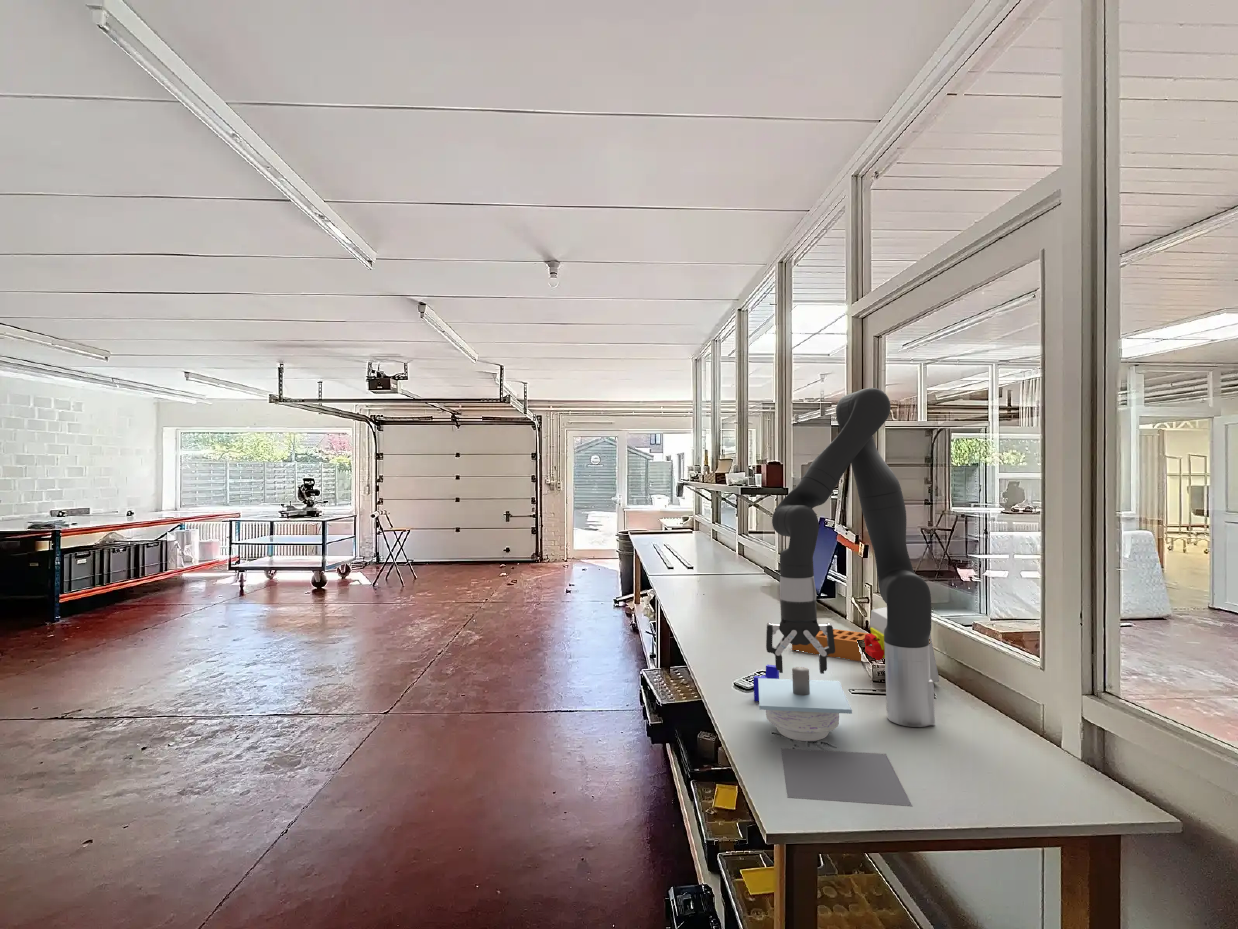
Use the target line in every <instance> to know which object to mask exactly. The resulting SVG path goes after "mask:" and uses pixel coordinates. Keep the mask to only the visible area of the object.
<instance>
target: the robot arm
mask: <svg viewBox="0 0 1238 929" xmlns="http://www.w3.org/2000/svg"><path fill="white" fill-rule="evenodd" d="M891 406H892V405H891V400H890V398H889V396H888V395H887V393H886V392H885V391H884V390H882V389H879V388H877V387H867V388H863V389H860V390H857V391H853V392H851V393H848V394H846V395H843V396H842V397H841V398H839V400H838V401H837V404H836V408H835V416H836V421H837V425H838V428H839V433H838V434H837V436H836V437H835V438H834V439H833V440H832V441H831V442H830V443H829V444H828V445H827V446H826V447H825V448H824V449H823V450H822V451H821V452H820V453H819V454H818V455H817V456H816V457H815V458H814V460H813V461H812V462H811V463H810V465H809V466H808V468H807V469H806V472H805V473H804V475H803V476H802V478H801V479H800V481H799V482H798V484H797V485H796V486H795V487H794V488H793V489H792V490H791V491H790V492H789V493H788V494H787V495H786V496H785V497H784V498H783V499H782V500H781V501H780V502H779V503H778V505H777V506H776V508H775V509H774V512H773V515H772V519H771V524H772V528H773V530H774V531H775V532H776V533H777V535H780V536H783V537H789V541H788V542H789V543H788V546H787V548H785V549H782V550H781V551H780V554H779V572H780V573H779V574H780V577H779V578H780V579H779V599H780V600H779V601H780V602H779V605H780V623H779V624H778V623H777V624H776V623H772V622H767V623H766V634H765V636H766V637H765V639H766V640H765V648H766V652H767V653H769V654H770V653H771V654H773V655H774V661H775V662H774V663H775V665H776V669H777V670H779V674H783V673H784V672H783V670H784V668H783V655H782V654H783V652H784V651H785V649H786V648H787V647H789V645H790V644H791V645H792V644H793V645H799V644H802V645H808V644H810V643H812V645H813V646H814V647H815V648H816V649H817V651H818V652H819V653H820V654H819V655H818V665H819V673H820V674H821V675H824V674H825V672H826V671H828V663H827V662H828V660H827V657H828V656H827V655H828V654H831V653H832V654H833V653H835V643H834V634H833V629H834V627H833V625H832V624H831V623H830V622H827V623H825V624H819V623H818V614H817V610H818V609H817V591H816V589H817V588H816V582H815V574H814V572H815V571H814V570H815V569H814V568H815V567H814V554H815V551H816V546H817V542H818V541H817V540H818V536H819V530H820V529H819V528H820V527H819V526H820V523H819V519H818V515H817V513H816V512H815V511H814V508H816V507H818V506H822V505H824V504H825V503H826V502H827V501H828V499H830V497H831V495H832V493H833V491H834V490H835V488H836V487H837V485H838V483H839V482H840V480H841V478H842V477H843V475H844V474H845V472H846V471H847V469H848V468H849V466H850V465H851V469H852V473H853V477H854V480H855V486H856V490H857V495H858V499H859V503H860V508H861V511H862V512H861V513H862V515H863V516H862V517H863V519H864V523H865V527H866V530H867V533H868V537H869V539H870V543H871V545H872V549H873V552H874V560H875V567H876V573H877V585H878V591H879V594H880V596H881V599H882V600H883V602H884V603H885V604H886V607H887V626H886V628H885V630H884V647H885V672H884V674H885V696H886V697H885V699H886V701H885V702H886V717H887V719H888V720H889V721H890V722H892V723H894V724H896V725H899V726H903V727H909V728H910V727H911V728H924V727H928V726H936V716H935V715H936V714H935V713H936V712H935V710H936V709H935V691H934V689H935V687H934V682H933V681H932V680H931V679H930V657H929V636H930V634H931V632H932V596H931V595H932V594H931V590H930V586H929V584H928V583H927V582H926V581H925V580H924V579H923V577H920V576H919V575H917V574H916V573H915V571H914V567H913V565H912V561H911V558H910V555H909V552H908V545H907V510H906V504H905V498H904V495H903V492H902V486H901V483H900V482H899V479H898V477H897V476H896V474H895V473H894V472H893V470H892V469H891V468H890V466H889V465H888V464H887V463H886V461H885V460H884V458H883V457H882V456H881V454H880V453H879V450H878V449H877V445H876V442H875V439H874V435H875V434H876V433H877V432H878V431H879V429H880V428H881V427H882V426H883V425H884V424H885V422H886V421H887V420H888V418H889V417H890V413H891V410H892V409H891ZM820 630H822V631H823V633H824V635H827V644H828V647H825V648H823V646H822V645H821V644H820V643H819V641H818V640H817V639H816V638H815V637H816V635H817V634H818V632H819V631H820ZM777 631H780V633H781V634H782V637H781V639H780V640H779V642H778V643H777V645H776V646H775V645H773V635H776V634H777Z"/></svg>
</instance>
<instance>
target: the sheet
mask: <svg viewBox="0 0 1238 929" xmlns="http://www.w3.org/2000/svg"><path fill="white" fill-rule="evenodd" d="M791 670H792V671H791V673H792V674H791V675H792V679H791V678H788V679H787V678H779V679H767V678H758V685H759V702H758V703H759V705H758V706H759V710H761V711H762V710H763V711H766V710H779V711H802V712H824V713H839V714H847V715H848V714H850V715H851V714H853V710H852V706H851V704H850V703H849V700H848V698H847V695H846V693H845V691H844V688H843V687H842V684H841V681H839V680H821V679H820V680H819V679H818V680H817V679H810V669H809V668H808V667H803V666H795V667H792V668H791Z"/></svg>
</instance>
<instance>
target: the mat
mask: <svg viewBox="0 0 1238 929" xmlns="http://www.w3.org/2000/svg"><path fill="white" fill-rule="evenodd" d="M780 749H781V750H780V751H781V757H782V758H781V759H782V765H783V773H784V774H783V775H784V779H785V790H786V797H787V798H789V799H801V800H815V801H829V802H830V801H832V802H843V803H859V804H860V803H861V804H872V805H873V804H874V805H887V806H902V807H904V806H905V807H913V804H912V802H911V800H910V799H909V796H908V794H907V792H906V791H905V789H904V787H903V784H902V783H901V781H900V778H899V776H898V775H897V773H896V771H895V769H894V767H893V765H892V762H891V760H890V759H889V757H888V755H887V753H881V752H880V753H877V752H859V751H840V750H826V749H825V750H822V749H808V748H807V749H804V748H803V749H801V748H786V747H781V748H780Z"/></svg>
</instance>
